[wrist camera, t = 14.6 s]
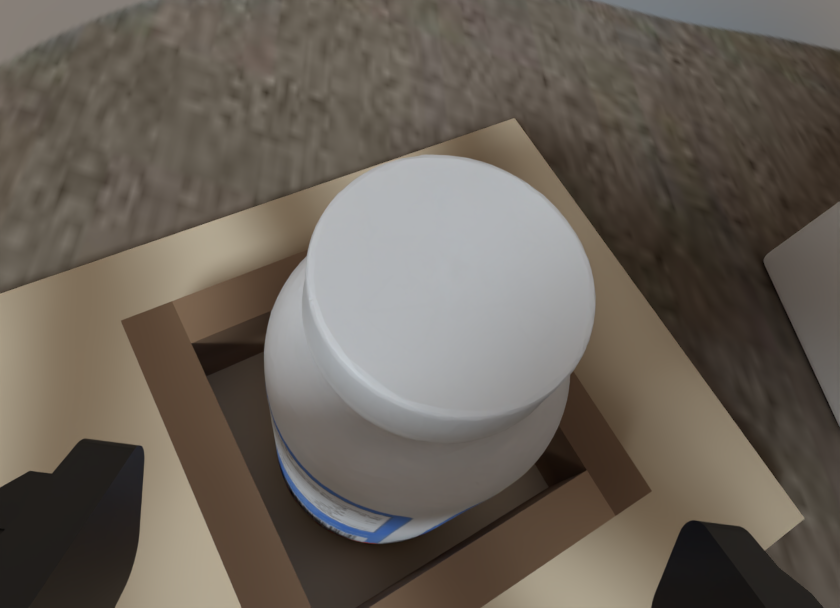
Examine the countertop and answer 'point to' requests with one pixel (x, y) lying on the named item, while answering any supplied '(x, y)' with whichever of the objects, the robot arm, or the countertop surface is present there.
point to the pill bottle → (424, 346)
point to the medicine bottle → (813, 295)
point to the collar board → (256, 448)
